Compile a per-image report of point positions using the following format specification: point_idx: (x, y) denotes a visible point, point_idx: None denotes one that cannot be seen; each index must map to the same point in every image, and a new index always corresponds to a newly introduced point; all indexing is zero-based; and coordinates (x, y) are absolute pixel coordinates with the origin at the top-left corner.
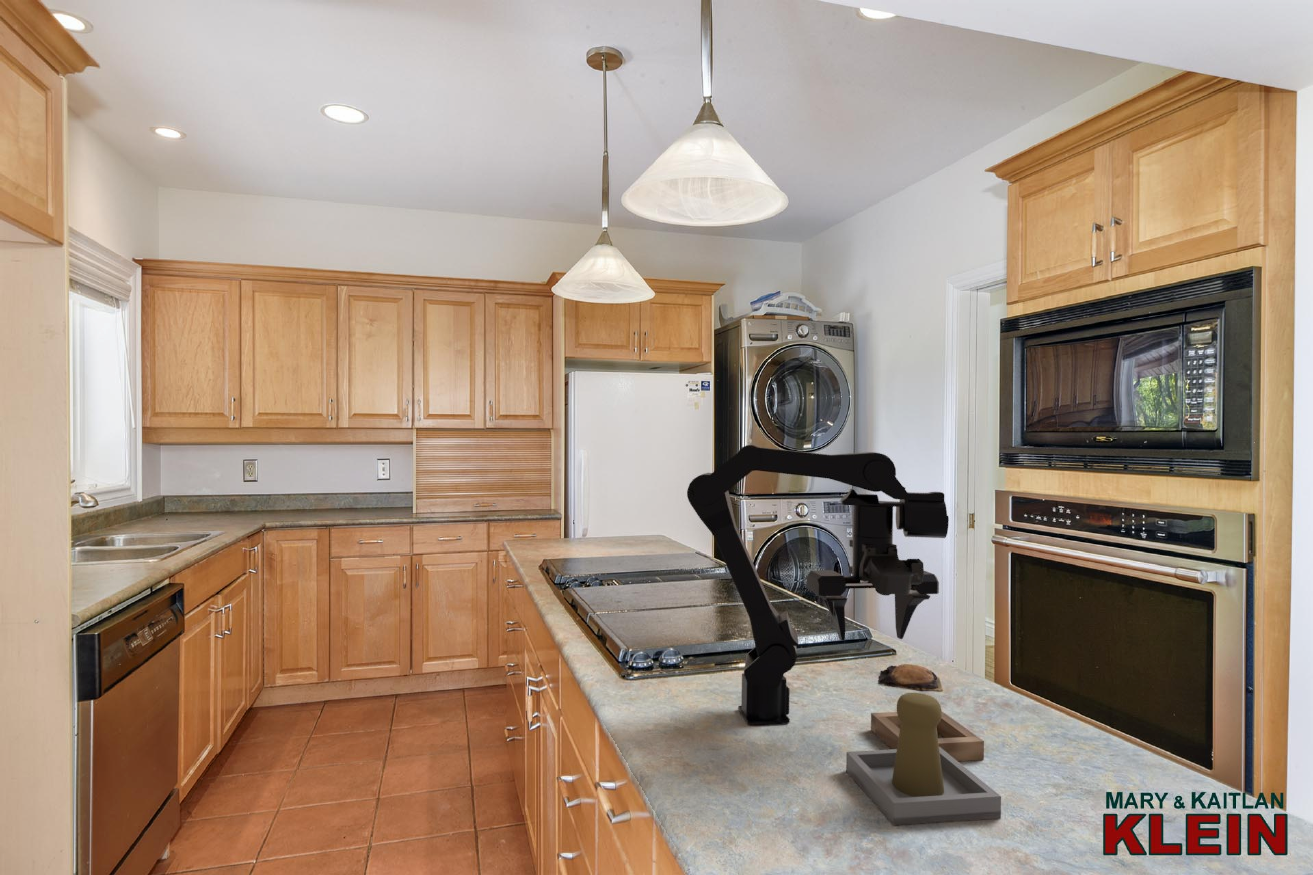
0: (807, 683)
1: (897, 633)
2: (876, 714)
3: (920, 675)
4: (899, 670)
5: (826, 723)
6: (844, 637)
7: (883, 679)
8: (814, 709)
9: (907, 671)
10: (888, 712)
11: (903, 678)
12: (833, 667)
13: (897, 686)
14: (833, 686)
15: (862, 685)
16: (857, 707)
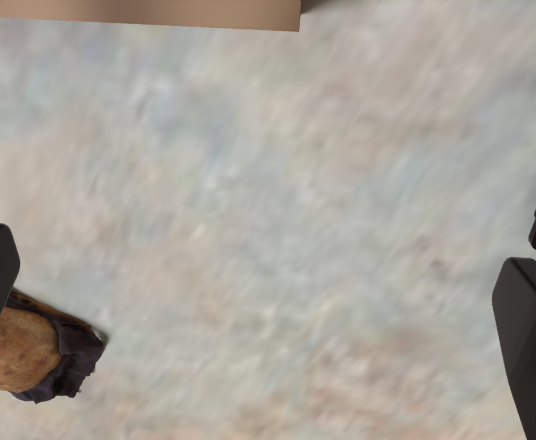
0: (317, 371)
1: (4, 281)
2: (283, 10)
3: None
4: (27, 361)
5: (435, 99)
6: (524, 268)
7: (90, 344)
8: (405, 212)
9: (4, 349)
10: (219, 25)
11: (29, 330)
12: (192, 437)
13: (58, 313)
14: (251, 343)
15: (161, 336)
16: (251, 203)
